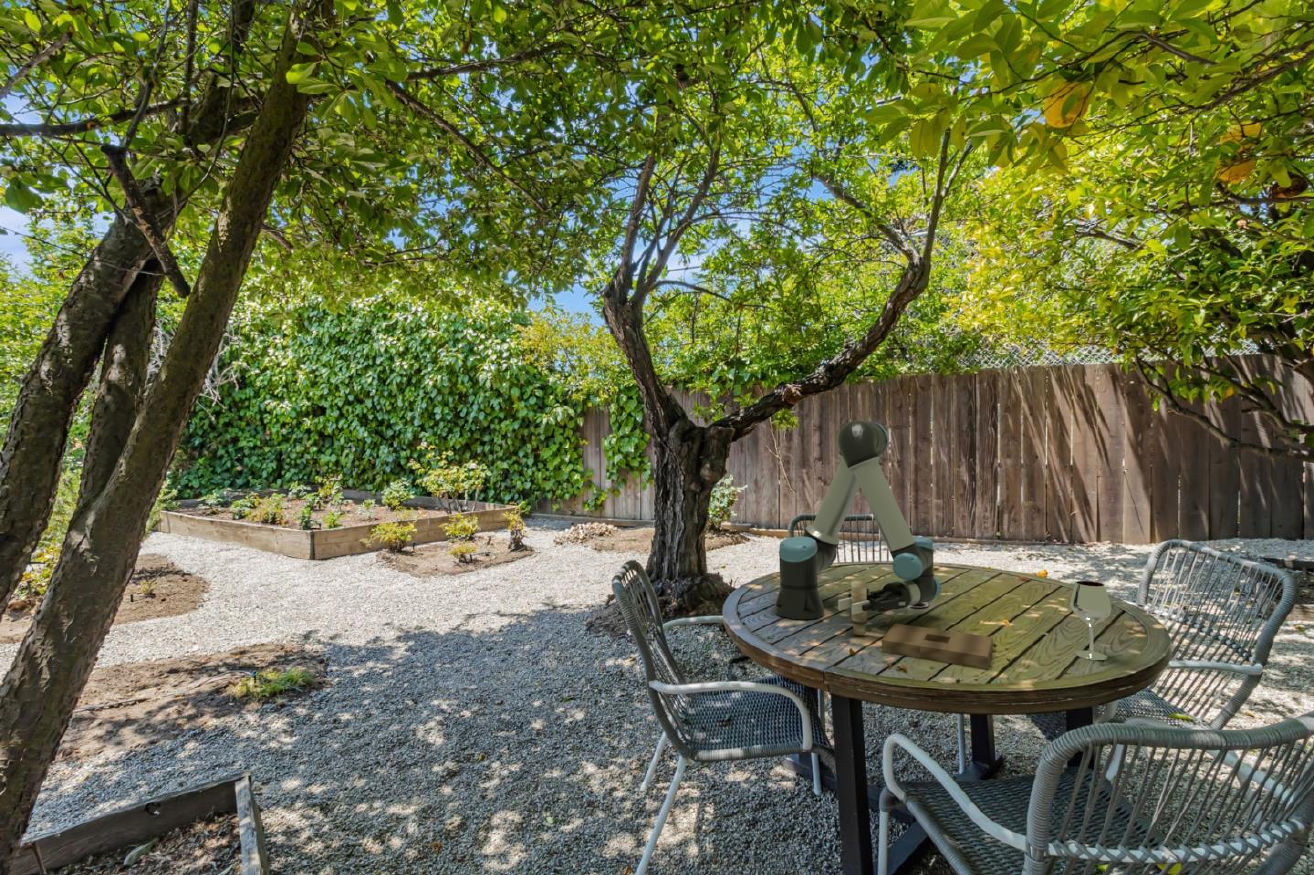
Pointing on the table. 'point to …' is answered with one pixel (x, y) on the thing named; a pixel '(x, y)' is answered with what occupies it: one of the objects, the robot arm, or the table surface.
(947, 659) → the board
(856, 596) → the peg
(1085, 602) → the wineglass
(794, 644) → the table surface
